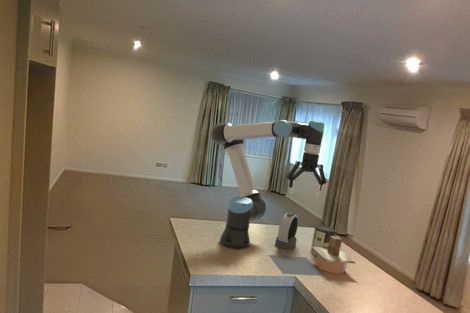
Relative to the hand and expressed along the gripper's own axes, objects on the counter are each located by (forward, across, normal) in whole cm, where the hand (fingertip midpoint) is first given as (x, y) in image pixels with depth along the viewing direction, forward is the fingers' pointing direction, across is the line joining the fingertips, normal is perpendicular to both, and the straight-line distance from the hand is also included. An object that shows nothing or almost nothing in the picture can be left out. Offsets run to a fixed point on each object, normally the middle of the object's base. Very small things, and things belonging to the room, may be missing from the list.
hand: (303, 195), depth 182 cm
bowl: (+31, +14, -13) cm, 36 cm away
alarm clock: (+31, +1, +13) cm, 34 cm away
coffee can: (+31, +17, +4) cm, 35 cm away
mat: (+31, -4, -13) cm, 34 cm away
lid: (+25, +14, -13) cm, 31 cm away
